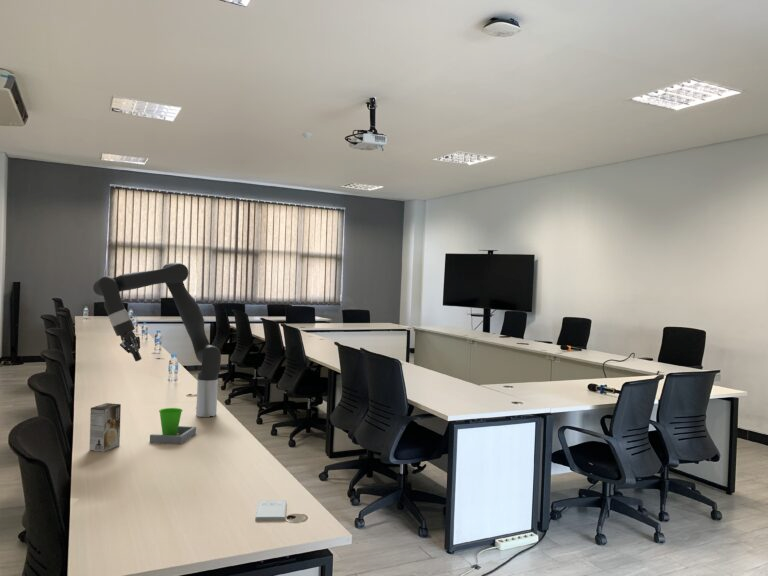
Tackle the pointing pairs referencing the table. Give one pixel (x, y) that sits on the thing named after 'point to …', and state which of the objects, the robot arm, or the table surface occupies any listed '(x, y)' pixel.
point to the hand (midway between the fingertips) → (138, 360)
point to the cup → (170, 420)
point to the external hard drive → (270, 510)
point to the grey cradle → (173, 439)
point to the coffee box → (105, 427)
